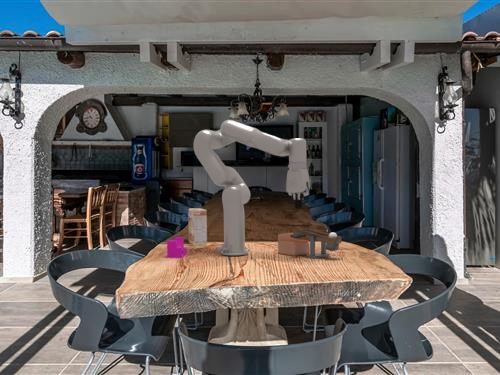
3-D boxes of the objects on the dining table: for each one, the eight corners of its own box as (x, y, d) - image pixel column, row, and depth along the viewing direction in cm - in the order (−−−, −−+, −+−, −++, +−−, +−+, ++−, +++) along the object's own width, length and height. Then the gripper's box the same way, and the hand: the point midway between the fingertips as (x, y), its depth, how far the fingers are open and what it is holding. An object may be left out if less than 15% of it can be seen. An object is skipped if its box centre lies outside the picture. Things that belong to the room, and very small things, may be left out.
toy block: (181, 258, 207) (181, 241, 207) (167, 258, 208) (167, 241, 208) (188, 253, 222) (188, 237, 222) (175, 253, 223) (175, 237, 223)
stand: (315, 258, 201) (315, 236, 201) (306, 257, 205) (306, 235, 205) (329, 256, 208) (329, 234, 208) (320, 255, 212) (320, 234, 212)
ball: (333, 241, 198) (334, 233, 198) (326, 239, 201) (327, 231, 201) (338, 240, 201) (339, 232, 201) (331, 239, 203) (332, 231, 203)
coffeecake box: (188, 245, 250) (187, 208, 250) (201, 244, 252) (201, 208, 252) (193, 248, 236) (193, 209, 236) (207, 248, 238) (207, 209, 238)
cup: (295, 256, 209) (294, 235, 209) (278, 253, 217) (278, 234, 217) (309, 253, 216) (309, 234, 216) (292, 251, 224) (292, 232, 224)
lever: (321, 253, 193) (322, 238, 192) (284, 242, 207) (285, 228, 207) (340, 250, 202) (341, 236, 201) (303, 239, 216) (304, 226, 216)
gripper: (279, 167, 209) (280, 209, 209) (305, 166, 198) (306, 209, 198) (290, 167, 214) (291, 208, 214) (316, 166, 203) (317, 208, 203)
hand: (298, 208), depth 206 cm, fingers closed
